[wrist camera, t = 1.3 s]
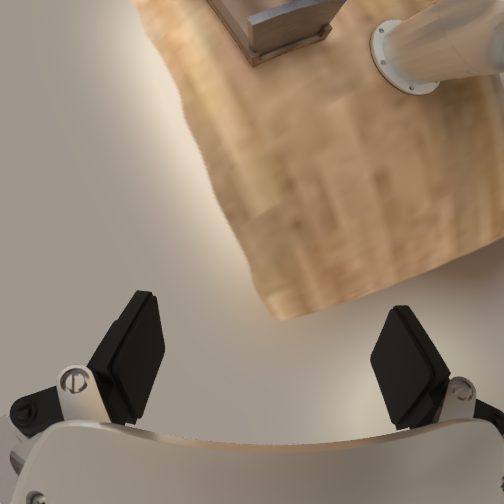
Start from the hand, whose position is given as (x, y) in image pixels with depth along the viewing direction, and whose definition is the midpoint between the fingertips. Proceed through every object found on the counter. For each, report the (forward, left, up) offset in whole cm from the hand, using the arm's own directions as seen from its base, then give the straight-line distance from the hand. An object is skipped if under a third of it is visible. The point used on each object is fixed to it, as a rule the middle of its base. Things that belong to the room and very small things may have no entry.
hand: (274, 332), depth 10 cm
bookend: (-12, -16, -27) cm, 34 cm away
